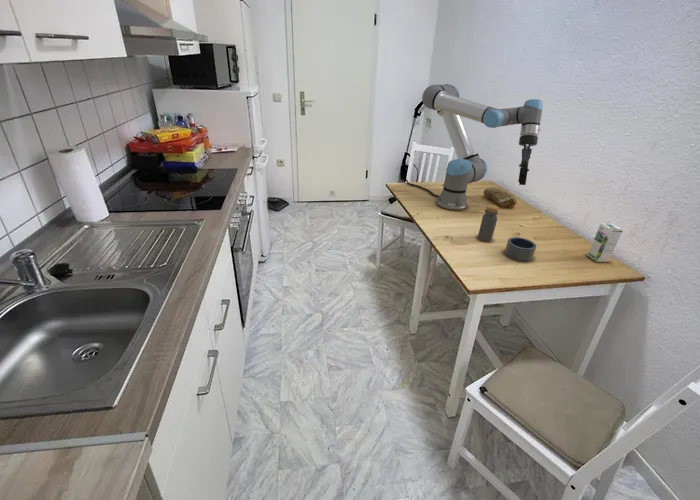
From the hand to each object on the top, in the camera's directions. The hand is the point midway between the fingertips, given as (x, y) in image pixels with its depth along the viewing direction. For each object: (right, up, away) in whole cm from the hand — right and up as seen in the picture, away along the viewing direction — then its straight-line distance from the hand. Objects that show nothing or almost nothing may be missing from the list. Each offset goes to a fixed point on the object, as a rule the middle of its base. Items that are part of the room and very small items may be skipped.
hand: (521, 183), depth 165 cm
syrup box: (+21, -34, -20) cm, 45 cm away
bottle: (-20, -26, -9) cm, 34 cm away
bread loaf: (+3, -4, +34) cm, 34 cm away
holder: (-11, -33, -21) cm, 40 cm away
